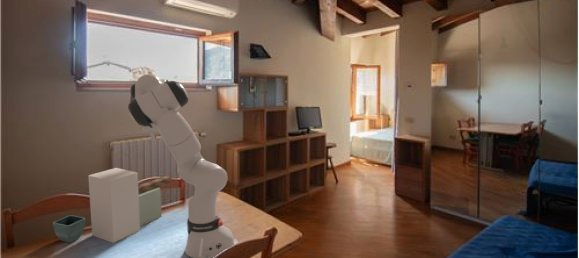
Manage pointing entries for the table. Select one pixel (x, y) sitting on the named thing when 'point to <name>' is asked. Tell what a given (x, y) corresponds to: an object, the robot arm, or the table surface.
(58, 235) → the flower pot
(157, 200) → the step
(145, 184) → the walnut bar
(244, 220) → the table surface
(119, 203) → the tall white pillar
